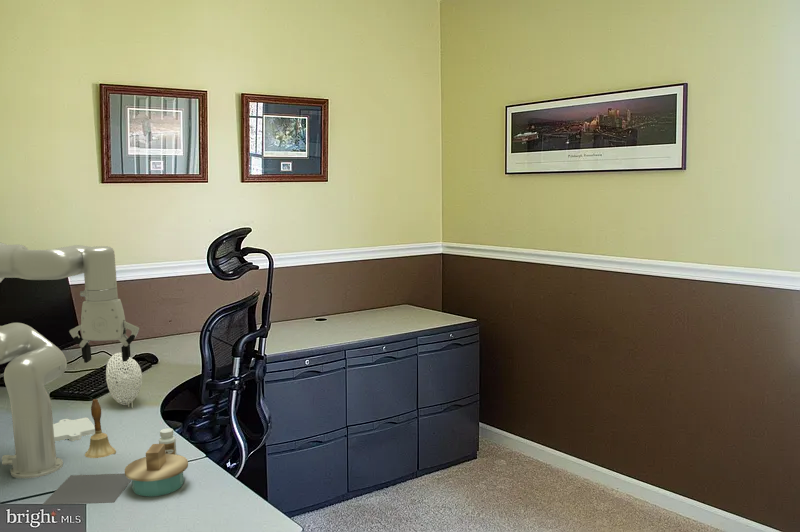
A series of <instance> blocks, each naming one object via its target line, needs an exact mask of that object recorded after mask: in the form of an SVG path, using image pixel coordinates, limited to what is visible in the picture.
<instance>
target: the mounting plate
mask: <svg viewBox="0 0 800 532" xmlns="http://www.w3.org/2000/svg"><path fill="white" fill-rule="evenodd" d="M53 428H54V439H55V441H59V442H61V441H60V440H64V441H66V440H65V439H69V440H68V441H70V442H76V441H75V440H77V441H80V440H82V438H83V437H86V435H87V436H91V435H90V434H92V435H94V434H95V424H94V423H93V422H92V421H91V420H90V419H89V418H88V416H87V417H81V418H77V419H70V418H63V419H60V420H58V422H56V423H53ZM82 436H83V437H82Z"/></svg>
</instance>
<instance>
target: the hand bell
mask: <svg viewBox="0 0 800 532" xmlns="http://www.w3.org/2000/svg"><path fill="white" fill-rule="evenodd" d="M90 412H91V416H92V419H93V422H94V423H93V425H94V426H95V434H92V435H90V438H89V439H90V440H89V447H88V449H87V451H86V452H85V453H84V456H85V458H88V459H100V458H105V457H109V456H111V455H116V453H117V450H116V449H115V448H114V447H113V446H112V445H111V443H110V441H109V436H108V434H107V433H104V432H102V430H103V429H102V425H101V417H102V408H101V404H100V403H99V401H98V398H94V399H92V402H91V407H90Z"/></svg>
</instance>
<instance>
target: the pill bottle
mask: <svg viewBox="0 0 800 532" xmlns="http://www.w3.org/2000/svg"><path fill="white" fill-rule="evenodd" d="M159 436H160V437H159V439H158V444H165V454H175V455H177V444H176V441H177V439H176V437H175V436H174V429H173V428H170V427H169V428H168V427H167V428H162V429H161V430H160V431H159Z"/></svg>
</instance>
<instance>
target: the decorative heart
mask: <svg viewBox="0 0 800 532" xmlns="http://www.w3.org/2000/svg"><path fill="white" fill-rule="evenodd" d="M105 380H106V384H107V388H108V391H109V393H110V395H111V396H112V398H113V399H114V400H115V401H116V402H117V403H118V404H120V405H123V406H127V407H128V408H130V404H131V408H132V409H133V408H134V407H133V406H134V405H133V404H134V403H133V402H134V401H135V399H137V397H138V395H139V393H140V391H141V388H142V385H143V372H142V369H141V366H140V364H139V363H138V362H137V361H136V360H135V359H133V358H132V357H131V356H130V357H129V359H128V360H127V361H126V362H123V361H122V352H117V353H114V354H112V355H111V357H109V359H108V361H107V364H106V369H105Z"/></svg>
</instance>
